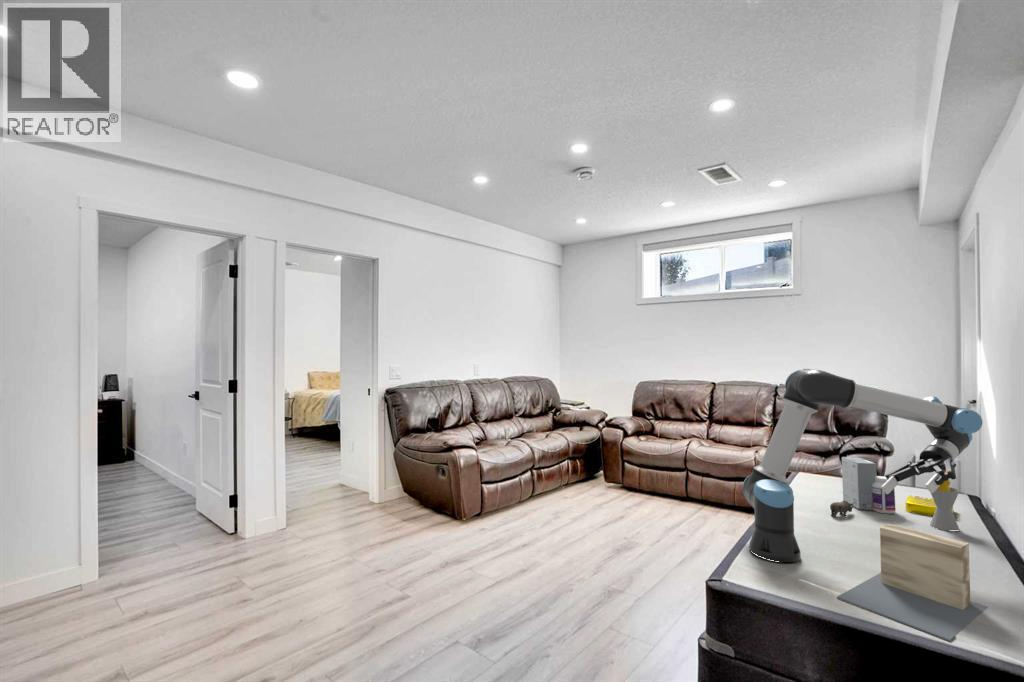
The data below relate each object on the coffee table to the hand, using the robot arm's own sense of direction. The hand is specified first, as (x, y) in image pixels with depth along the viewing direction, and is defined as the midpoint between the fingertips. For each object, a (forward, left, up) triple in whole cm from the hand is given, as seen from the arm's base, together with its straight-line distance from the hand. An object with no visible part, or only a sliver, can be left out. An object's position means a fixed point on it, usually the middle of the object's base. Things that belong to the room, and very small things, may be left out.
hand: (905, 489), depth 151 cm
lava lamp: (+40, +42, -25) cm, 63 cm away
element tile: (+49, +64, -26) cm, 84 cm away
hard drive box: (+24, +68, -25) cm, 77 cm away
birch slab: (-6, -16, -25) cm, 30 cm away
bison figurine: (+9, +53, -25) cm, 60 cm away
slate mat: (-13, -21, -25) cm, 35 cm away
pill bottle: (+29, +60, -25) cm, 72 cm away
